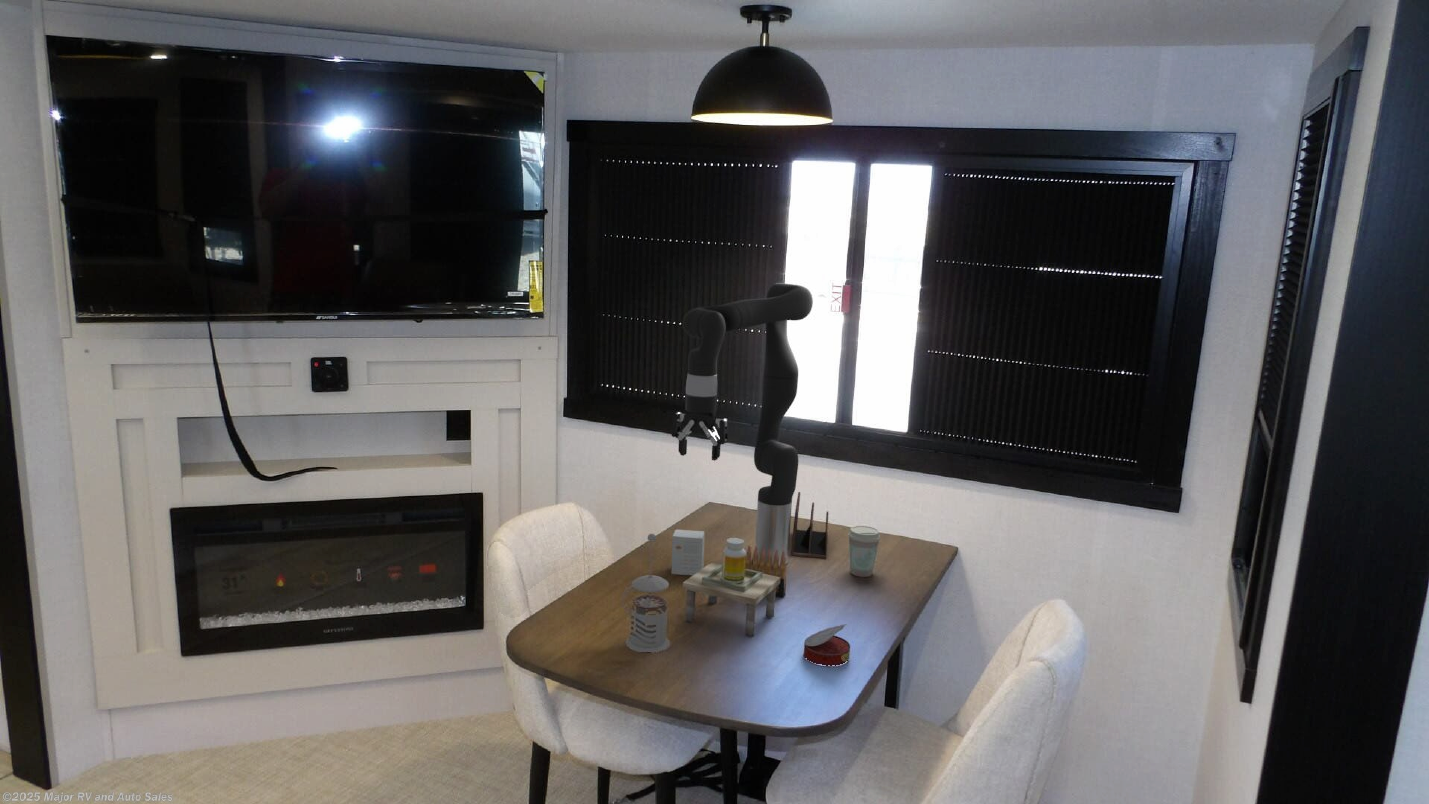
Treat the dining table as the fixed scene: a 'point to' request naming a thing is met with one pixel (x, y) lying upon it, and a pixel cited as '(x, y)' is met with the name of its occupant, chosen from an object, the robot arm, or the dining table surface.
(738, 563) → the supplement bottle
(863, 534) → the coffee cup
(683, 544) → the small box
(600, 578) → the dining table surface
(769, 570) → the ammunition clip
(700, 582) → the miniature tray table
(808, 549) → the letter holder
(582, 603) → the dining table surface
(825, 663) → the canned food
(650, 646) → the french press
